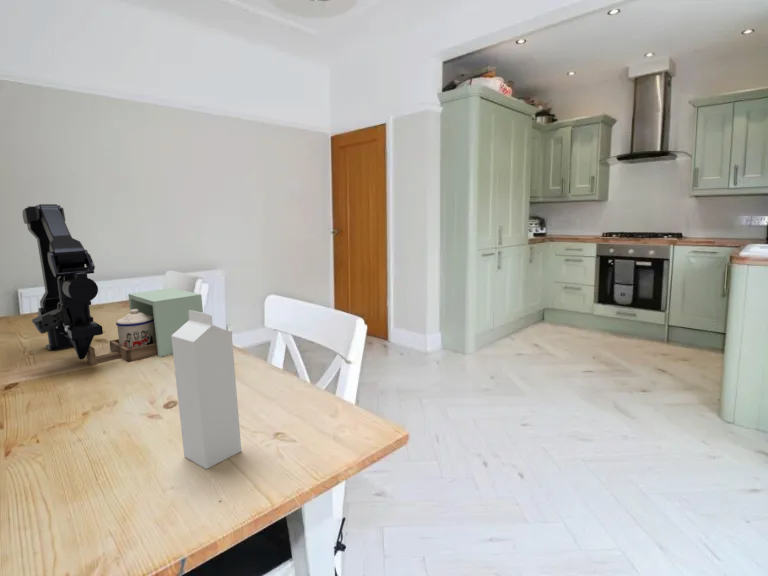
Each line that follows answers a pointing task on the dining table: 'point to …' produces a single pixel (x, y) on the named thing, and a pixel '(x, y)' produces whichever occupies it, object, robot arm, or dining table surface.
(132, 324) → the teacup with lid
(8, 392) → the dining table surface
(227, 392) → the milk
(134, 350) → the tray
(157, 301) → the shelf
